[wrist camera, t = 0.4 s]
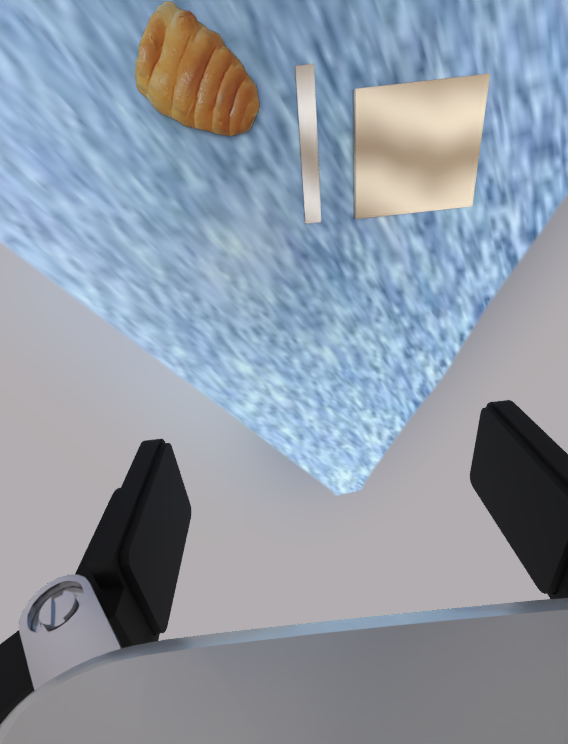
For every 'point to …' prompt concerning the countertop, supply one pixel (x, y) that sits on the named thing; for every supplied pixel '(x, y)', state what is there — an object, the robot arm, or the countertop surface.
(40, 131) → the countertop surface
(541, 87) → the countertop surface
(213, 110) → the pastry
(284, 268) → the countertop surface
